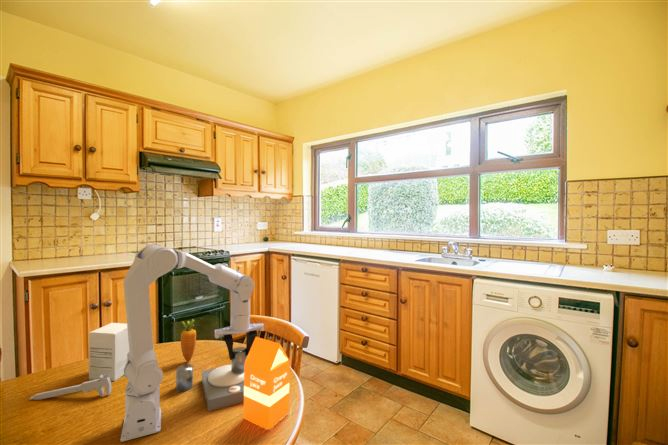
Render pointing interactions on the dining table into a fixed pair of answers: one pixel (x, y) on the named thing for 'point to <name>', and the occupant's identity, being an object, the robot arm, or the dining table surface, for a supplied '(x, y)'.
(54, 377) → the dining table surface
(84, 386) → the caliper
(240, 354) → the steel weight
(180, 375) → the steel weight
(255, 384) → the orange juice
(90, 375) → the supplement box
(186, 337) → the carrot
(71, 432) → the dining table surface
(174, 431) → the dining table surface
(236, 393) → the kitchen scale
